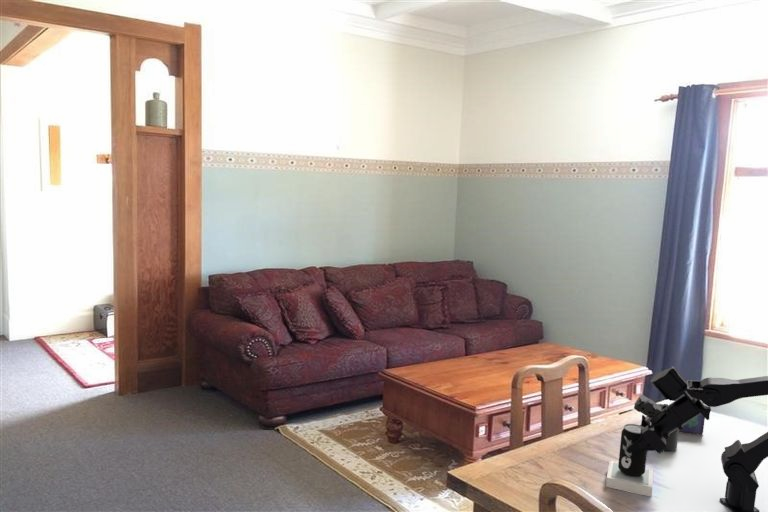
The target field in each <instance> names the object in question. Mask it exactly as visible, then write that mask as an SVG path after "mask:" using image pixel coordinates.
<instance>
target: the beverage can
mask: <svg viewBox="0 0 768 512" xmlns="http://www.w3.org/2000/svg"><path fill="white" fill-rule="evenodd" d="M640 425H641V424H640ZM640 425H639V424H634V423H627V424H624V426H623V429H621V435H620V442H619V443H620V444H619V454H618V455H619V456H618V462H619V464H618V467H619V469H620V471H621V472H622V473H624V474H626V475H629V476H634V477H638V476H641V475H642V474H644V473H645V468H646V465H647V464H646V462H647V454H648V451H642V452H633V453H628V451H627V450H626V449H627V448H628V447H629V446H630V445H631V444H632V443H633V442H634V441H635V440H636V439H637V438H638V437H640V433H641V428H642V429H644V428H645V427H643V426H640Z"/></svg>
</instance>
